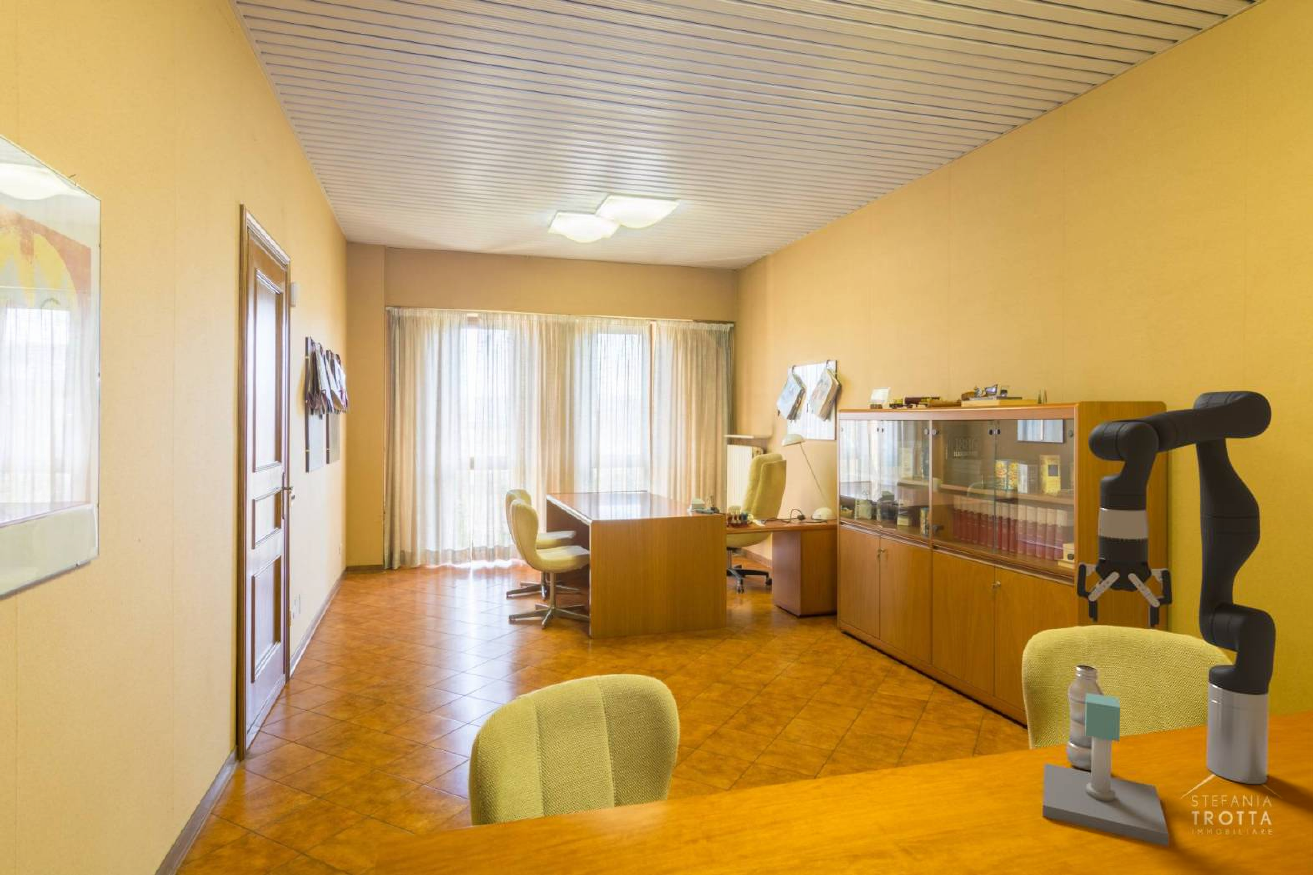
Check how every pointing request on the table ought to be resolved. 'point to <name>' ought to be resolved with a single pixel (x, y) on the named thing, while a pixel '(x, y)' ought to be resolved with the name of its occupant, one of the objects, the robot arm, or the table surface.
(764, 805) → the table surface
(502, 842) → the table surface
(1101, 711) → the teal cube
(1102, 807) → the post stand
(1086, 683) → the plastic bottle
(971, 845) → the table surface
